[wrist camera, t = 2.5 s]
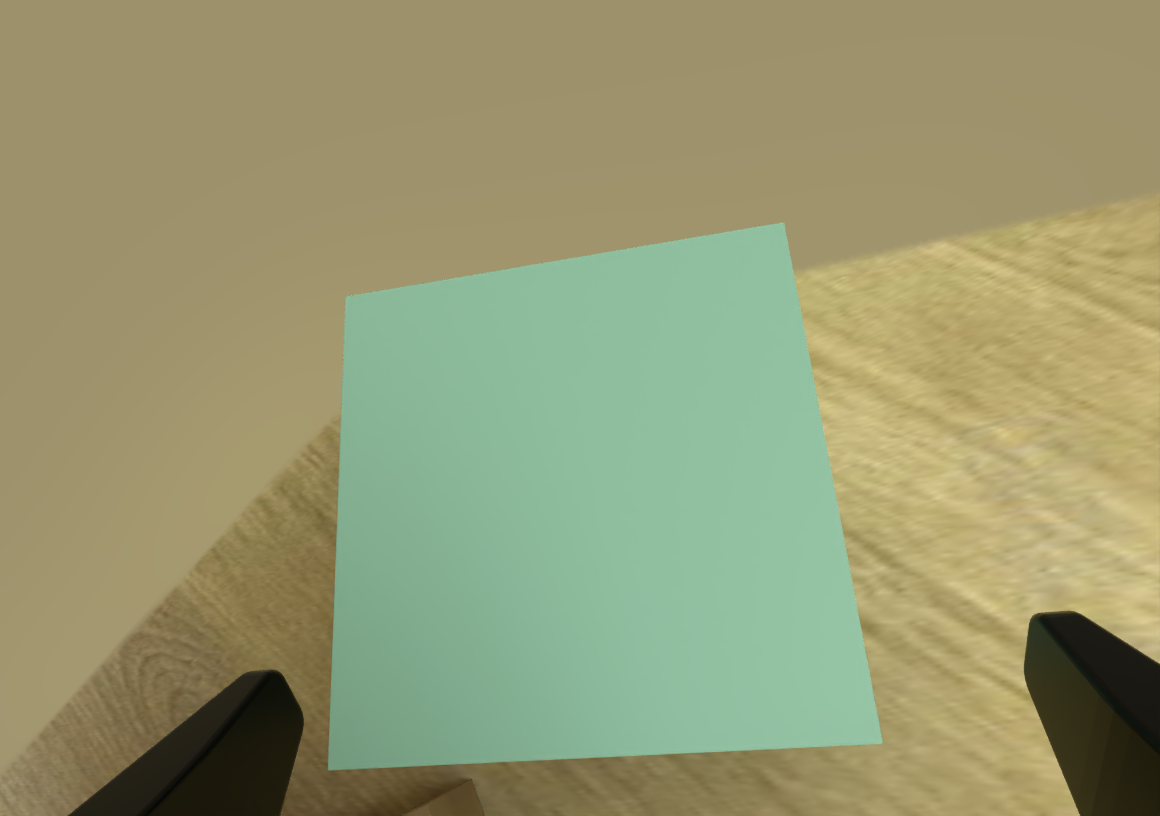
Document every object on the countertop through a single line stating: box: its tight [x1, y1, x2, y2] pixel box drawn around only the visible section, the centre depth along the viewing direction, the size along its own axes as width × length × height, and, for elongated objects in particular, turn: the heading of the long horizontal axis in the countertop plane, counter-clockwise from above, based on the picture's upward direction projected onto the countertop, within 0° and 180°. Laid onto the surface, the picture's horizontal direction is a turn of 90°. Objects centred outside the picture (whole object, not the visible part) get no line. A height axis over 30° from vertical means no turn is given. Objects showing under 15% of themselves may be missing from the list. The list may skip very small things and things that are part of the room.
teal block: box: [328, 222, 883, 770], centre depth 12 cm, size 4×4×12 cm
